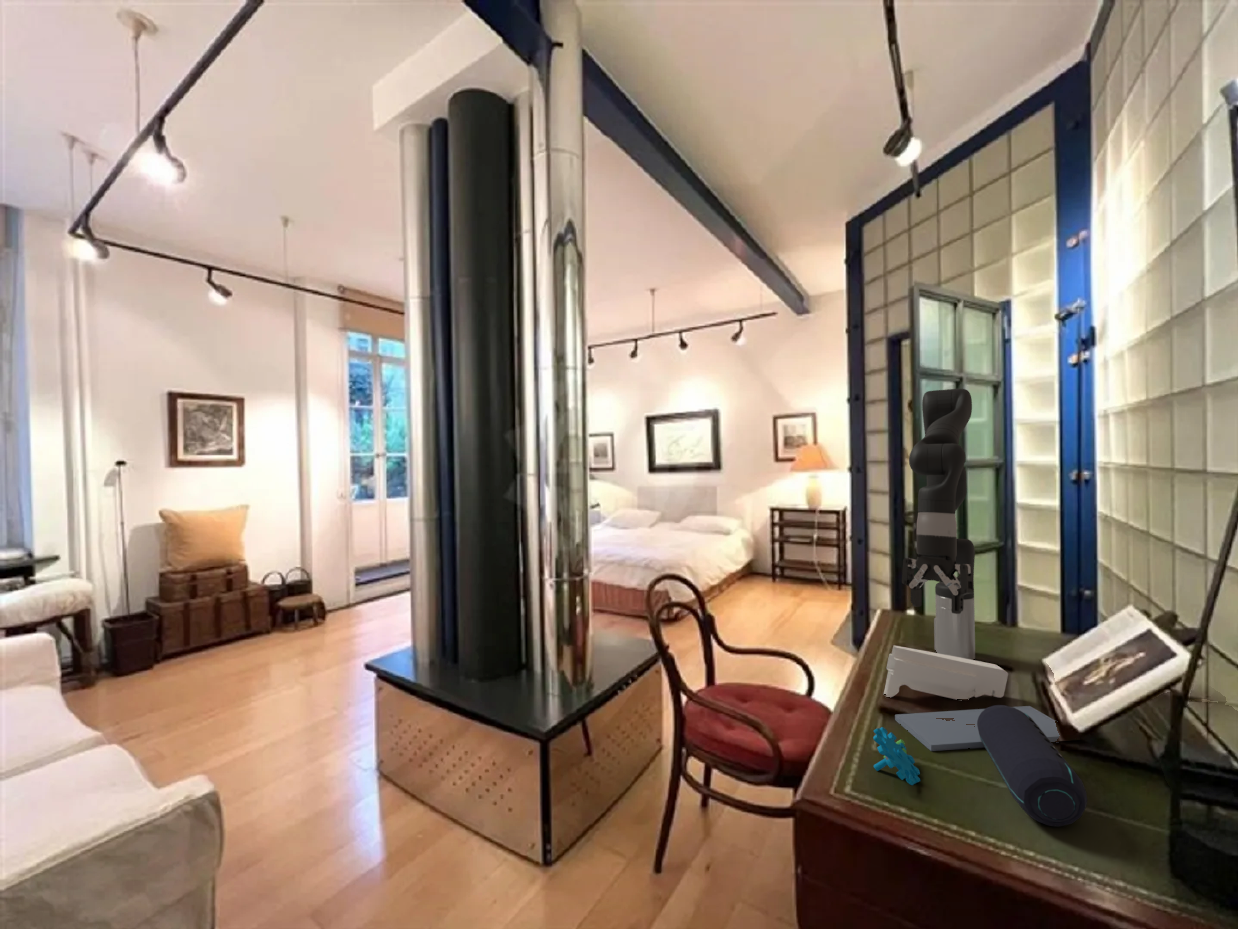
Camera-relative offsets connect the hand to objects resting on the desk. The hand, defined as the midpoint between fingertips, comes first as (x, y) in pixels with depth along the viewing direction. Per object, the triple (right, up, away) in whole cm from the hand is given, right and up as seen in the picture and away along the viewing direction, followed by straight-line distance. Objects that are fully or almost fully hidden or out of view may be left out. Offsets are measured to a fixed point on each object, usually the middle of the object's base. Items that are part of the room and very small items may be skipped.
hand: (935, 609), depth 113 cm
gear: (-17, -26, -17) cm, 35 cm away
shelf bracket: (+9, -24, +11) cm, 28 cm away
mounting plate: (+8, -24, -3) cm, 26 cm away
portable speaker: (+3, -25, -22) cm, 33 cm away
